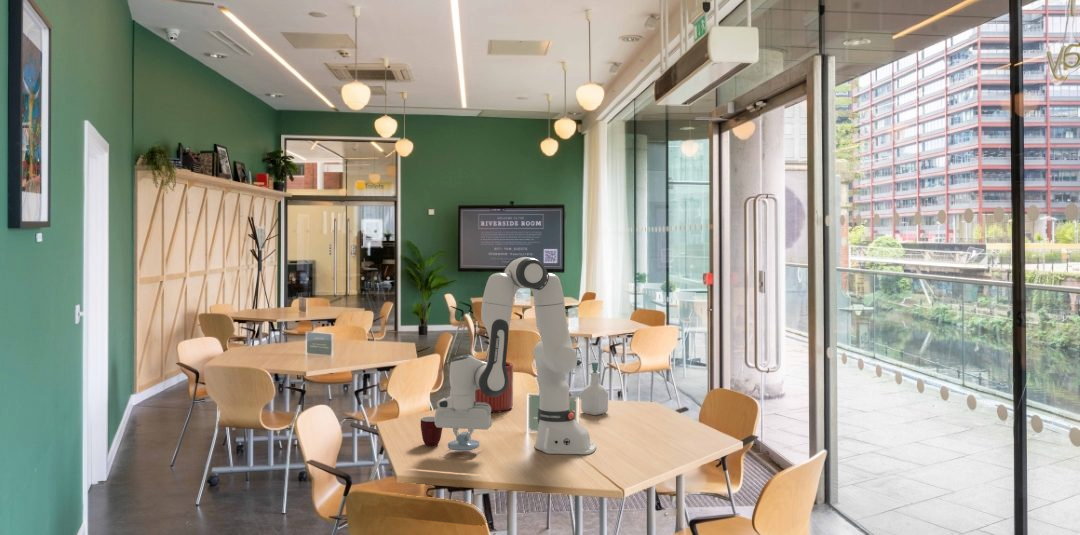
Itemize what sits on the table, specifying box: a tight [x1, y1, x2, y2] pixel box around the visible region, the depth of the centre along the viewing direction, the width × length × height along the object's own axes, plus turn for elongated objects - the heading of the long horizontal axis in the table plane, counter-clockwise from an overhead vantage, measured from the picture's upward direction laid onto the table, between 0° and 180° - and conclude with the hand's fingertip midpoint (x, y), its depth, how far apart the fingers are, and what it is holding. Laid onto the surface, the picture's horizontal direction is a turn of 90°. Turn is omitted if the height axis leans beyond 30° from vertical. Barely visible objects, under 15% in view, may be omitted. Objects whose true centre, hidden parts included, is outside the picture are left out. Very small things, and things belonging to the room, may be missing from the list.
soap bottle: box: [580, 361, 609, 416], centre depth 321 cm, size 10×10×23 cm
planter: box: [475, 360, 514, 413], centre depth 329 cm, size 23×23×20 cm
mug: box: [420, 416, 443, 447], centre depth 262 cm, size 11×8×10 cm
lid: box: [447, 431, 480, 451], centre depth 252 cm, size 11×11×4 cm
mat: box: [438, 448, 484, 461], centre depth 252 cm, size 12×12×1 cm
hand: (463, 440), depth 252 cm, fingers closed on lid, 2 cm apart
